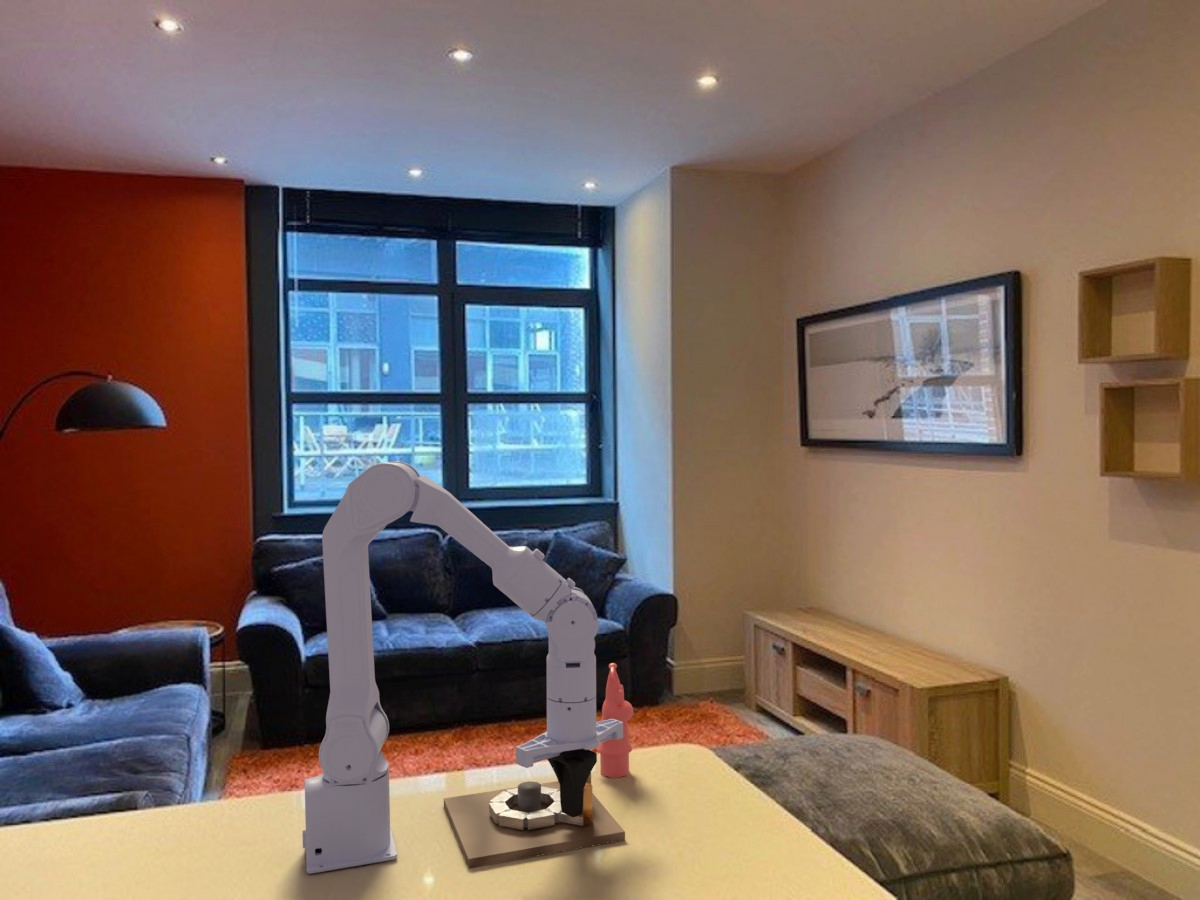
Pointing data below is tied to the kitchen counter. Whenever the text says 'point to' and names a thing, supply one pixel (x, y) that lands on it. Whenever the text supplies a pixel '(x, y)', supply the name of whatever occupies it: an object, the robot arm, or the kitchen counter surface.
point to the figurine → (617, 708)
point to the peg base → (502, 844)
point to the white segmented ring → (542, 817)
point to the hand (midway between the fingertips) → (572, 813)
